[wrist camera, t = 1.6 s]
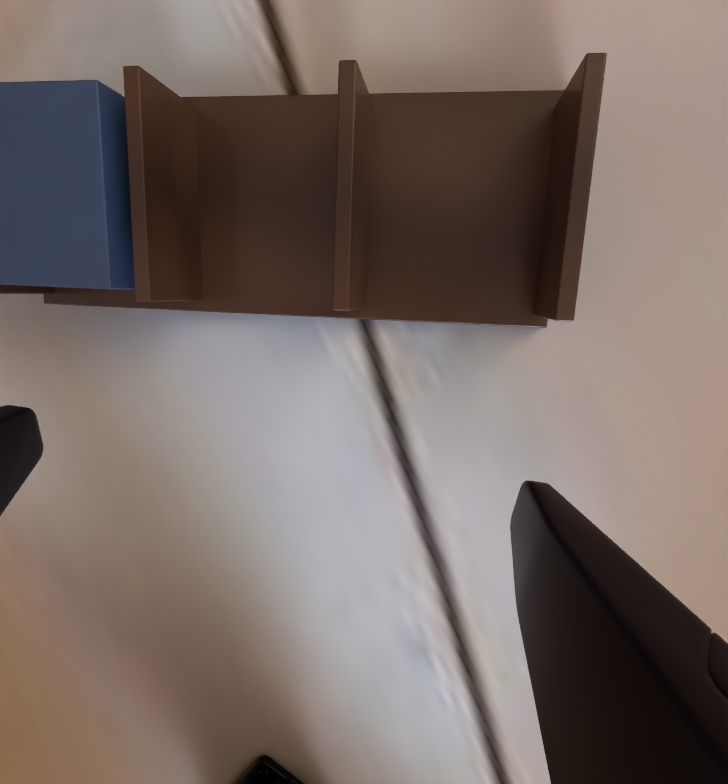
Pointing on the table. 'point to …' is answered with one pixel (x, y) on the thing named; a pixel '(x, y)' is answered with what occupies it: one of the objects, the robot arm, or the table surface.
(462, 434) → the table surface
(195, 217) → the rack
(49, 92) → the slate box
